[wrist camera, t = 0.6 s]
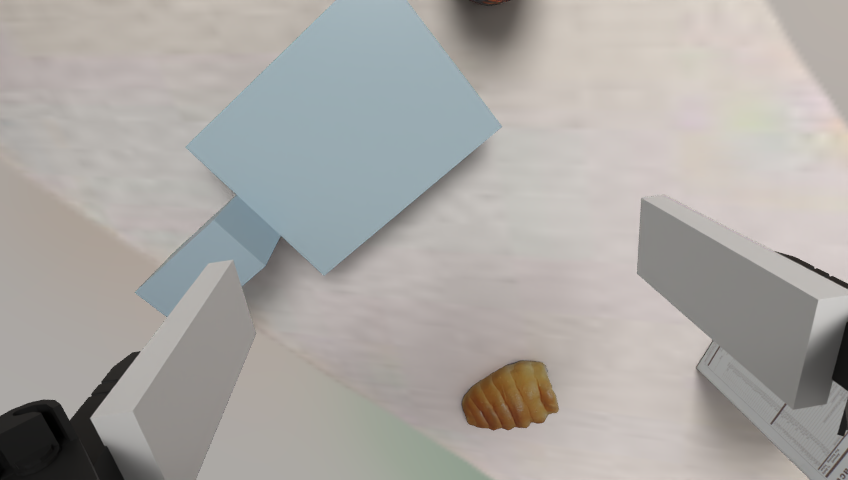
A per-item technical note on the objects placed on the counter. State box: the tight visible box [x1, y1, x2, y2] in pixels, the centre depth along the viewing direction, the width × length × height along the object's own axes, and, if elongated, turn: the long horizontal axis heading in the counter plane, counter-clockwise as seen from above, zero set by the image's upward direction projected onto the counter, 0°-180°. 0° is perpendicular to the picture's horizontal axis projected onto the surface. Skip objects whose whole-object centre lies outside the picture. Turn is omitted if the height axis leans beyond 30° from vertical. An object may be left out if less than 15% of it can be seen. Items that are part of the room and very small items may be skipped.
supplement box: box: [697, 341, 848, 480], centre depth 41 cm, size 10×9×17 cm
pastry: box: [462, 361, 559, 430], centre depth 47 cm, size 9×7×4 cm
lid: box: [135, 0, 502, 317], centre depth 30 cm, size 13×24×6 cm, turn 130°
